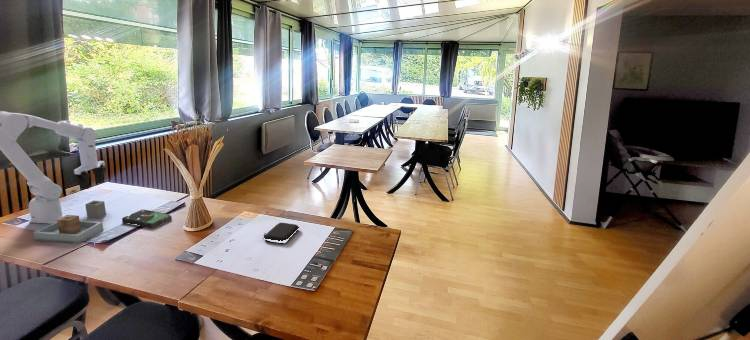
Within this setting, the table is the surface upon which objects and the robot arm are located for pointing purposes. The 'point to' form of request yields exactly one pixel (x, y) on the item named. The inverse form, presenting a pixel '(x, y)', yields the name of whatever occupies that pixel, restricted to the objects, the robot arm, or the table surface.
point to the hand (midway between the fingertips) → (92, 185)
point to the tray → (53, 234)
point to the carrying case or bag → (281, 231)
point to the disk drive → (147, 218)
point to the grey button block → (95, 209)
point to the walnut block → (69, 224)
